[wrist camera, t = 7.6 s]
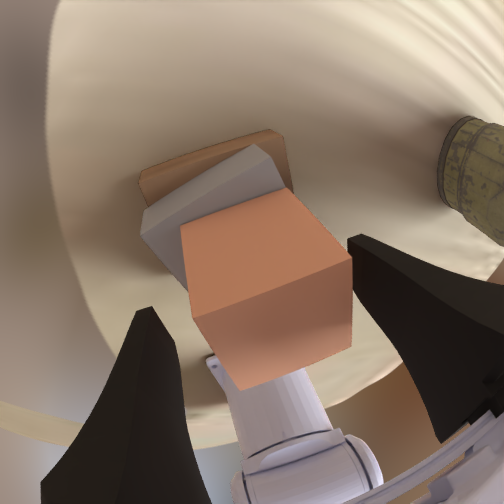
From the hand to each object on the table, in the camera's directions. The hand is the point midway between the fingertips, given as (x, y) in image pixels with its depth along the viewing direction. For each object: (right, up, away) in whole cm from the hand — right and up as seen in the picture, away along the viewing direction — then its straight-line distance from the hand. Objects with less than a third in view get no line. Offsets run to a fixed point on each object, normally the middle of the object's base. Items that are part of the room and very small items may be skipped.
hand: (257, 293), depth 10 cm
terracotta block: (0, +2, +3) cm, 3 cm away
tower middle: (-1, +3, +5) cm, 6 cm away
